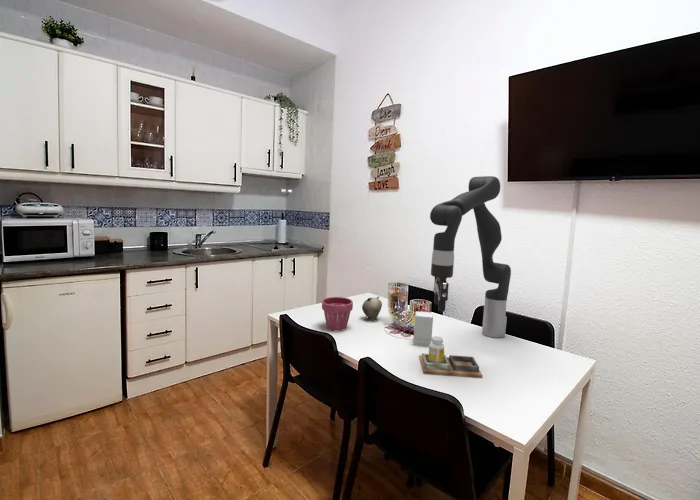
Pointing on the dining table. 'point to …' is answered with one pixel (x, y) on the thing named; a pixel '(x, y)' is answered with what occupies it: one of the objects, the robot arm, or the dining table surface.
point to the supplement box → (423, 328)
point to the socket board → (451, 366)
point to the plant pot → (337, 312)
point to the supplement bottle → (436, 350)
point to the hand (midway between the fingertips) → (439, 307)
